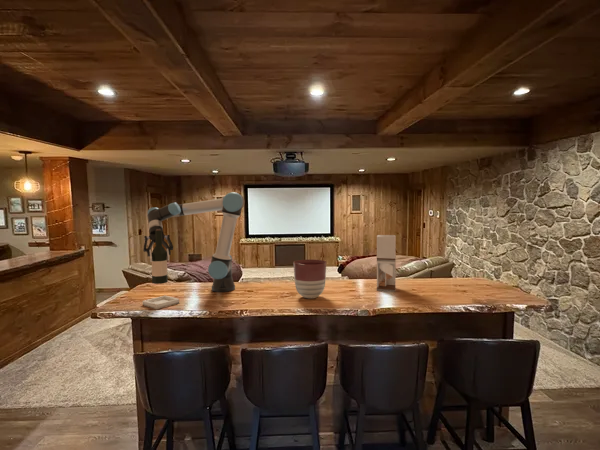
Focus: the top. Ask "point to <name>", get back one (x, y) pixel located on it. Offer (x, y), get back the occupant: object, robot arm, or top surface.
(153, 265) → the wine bottle
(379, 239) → the beige dispenser tower
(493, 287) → the top surface
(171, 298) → the grey dish
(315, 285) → the planter
